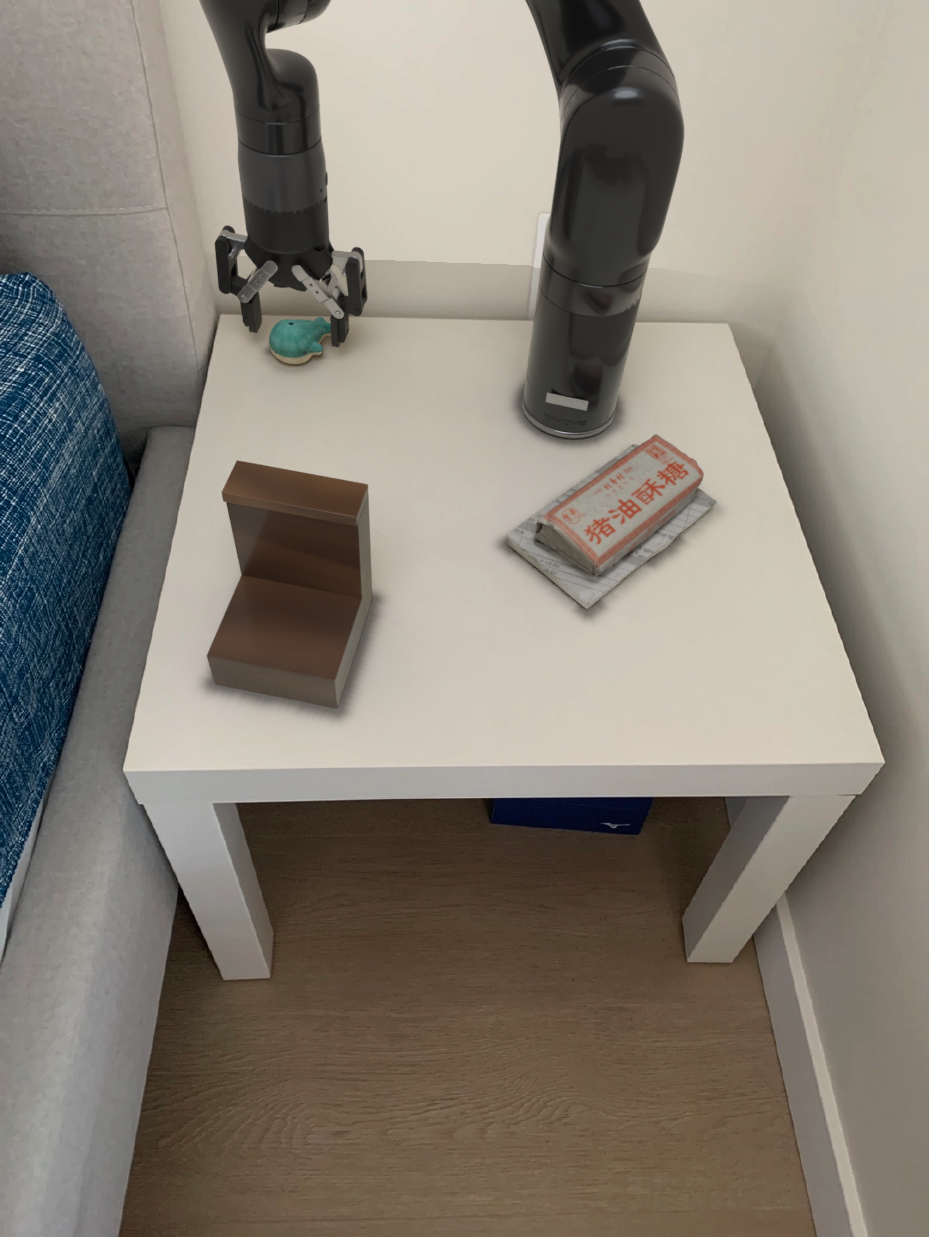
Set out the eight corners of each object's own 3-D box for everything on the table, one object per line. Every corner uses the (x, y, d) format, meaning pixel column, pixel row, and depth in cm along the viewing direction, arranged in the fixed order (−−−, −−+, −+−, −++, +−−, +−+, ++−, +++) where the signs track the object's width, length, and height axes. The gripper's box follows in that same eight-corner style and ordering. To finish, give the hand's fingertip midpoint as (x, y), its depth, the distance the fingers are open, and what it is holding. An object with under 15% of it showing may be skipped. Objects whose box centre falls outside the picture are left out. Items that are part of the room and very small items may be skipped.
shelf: (258, 577, 83) (236, 459, 72) (372, 599, 83) (368, 483, 71) (214, 683, 77) (182, 572, 66) (337, 708, 76) (326, 600, 65)
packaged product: (643, 414, 91) (728, 473, 87) (633, 452, 95) (714, 509, 91) (508, 509, 83) (595, 578, 79) (503, 546, 87) (586, 613, 83)
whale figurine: (258, 349, 101) (253, 318, 98) (313, 320, 104) (311, 289, 101) (294, 377, 98) (290, 347, 95) (349, 347, 102) (347, 316, 99)
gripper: (191, 194, 84) (217, 346, 97) (352, 220, 84) (356, 370, 97) (219, 150, 89) (240, 301, 102) (372, 175, 88) (373, 324, 101)
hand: (297, 335), depth 99 cm, fingers open, 8 cm apart
